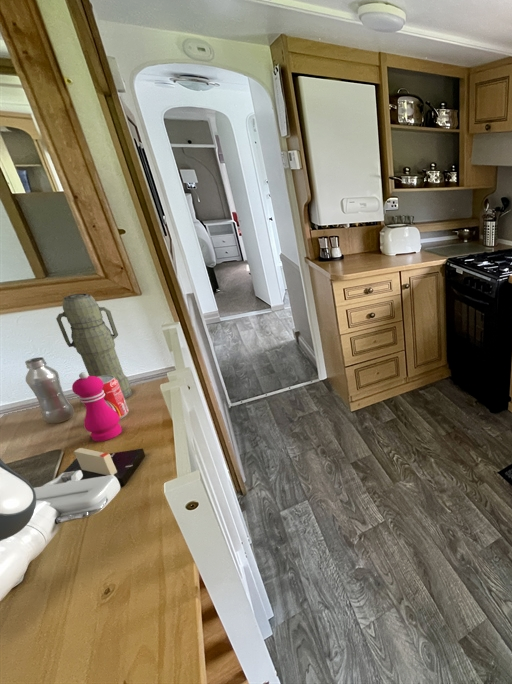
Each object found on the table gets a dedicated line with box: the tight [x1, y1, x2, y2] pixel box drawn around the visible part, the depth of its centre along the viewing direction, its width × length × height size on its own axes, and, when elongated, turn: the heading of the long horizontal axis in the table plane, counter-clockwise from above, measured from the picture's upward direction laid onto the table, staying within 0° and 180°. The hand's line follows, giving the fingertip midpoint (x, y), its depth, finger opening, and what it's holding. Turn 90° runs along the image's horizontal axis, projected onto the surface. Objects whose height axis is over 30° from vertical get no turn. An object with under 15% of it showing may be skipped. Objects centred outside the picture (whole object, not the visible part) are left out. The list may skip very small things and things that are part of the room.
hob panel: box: [62, 448, 146, 488], centre depth 91 cm, size 15×14×3 cm
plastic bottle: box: [24, 357, 75, 424], centre depth 109 cm, size 6×7×20 cm
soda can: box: [98, 375, 130, 420], centre depth 112 cm, size 7×7×13 cm
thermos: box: [55, 293, 133, 400], centre depth 119 cm, size 9×12×35 cm
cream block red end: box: [73, 447, 117, 475], centre depth 89 cm, size 9×1×6 cm, turn 77°
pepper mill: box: [71, 371, 123, 442], centre depth 103 cm, size 7×7×20 cm
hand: (73, 473), depth 77 cm, fingers closed
